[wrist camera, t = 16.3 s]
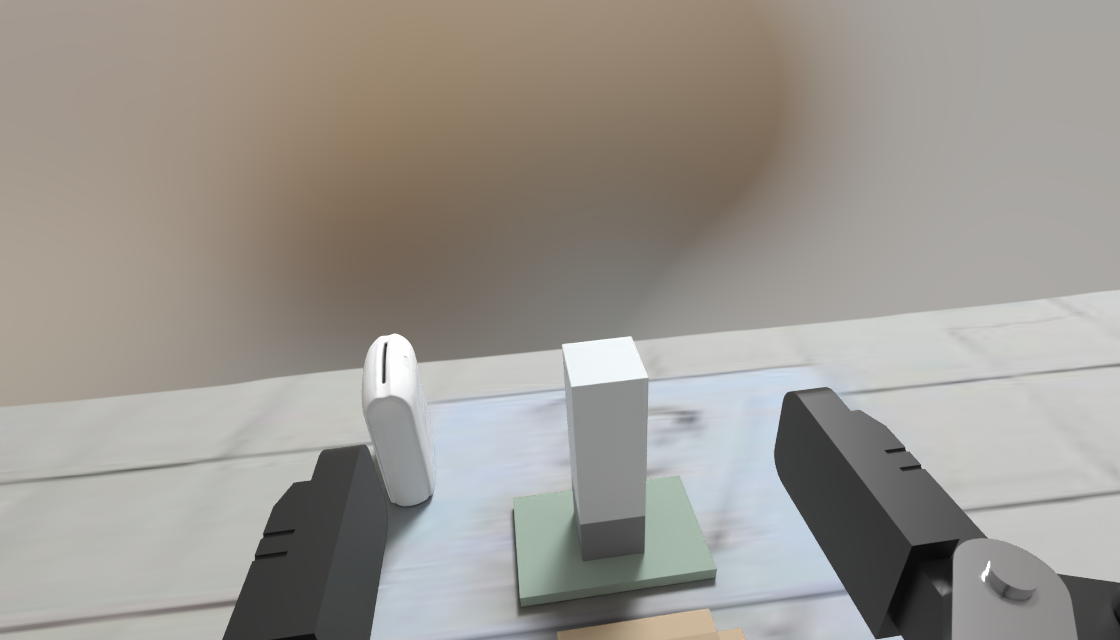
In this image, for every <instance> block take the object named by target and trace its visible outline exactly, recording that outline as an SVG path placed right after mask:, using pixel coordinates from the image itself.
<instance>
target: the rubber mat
mask: <svg viewBox="0 0 1120 640" xmlns="http://www.w3.org/2000/svg"><path fill="white" fill-rule="evenodd" d="M513 503H514V518H515V533H516V548H517V563H518V578H519V593H520V602H521V607H524V606H531V605H538V604H544V603H551V602H558V601H564V600H571V599H577V598H584V597H591V596H597V595H604V594H611V593H617V592H624V591H631V590H637V589H644V588H651V587H657V586H664V585H671V584H677V583H684V582H690V581H697V580H704V579H710V578H716V570H717V568H716V566H715V563H714V561H713V558H712V556H711V553H710V551H709V549H708V546H707V544H706V541H705V539H704V536H703V534H702V531H701V529H700V526H699V524H698V521H697V519H696V516H695V514H694V511H693V509H692V506H691V504H690V501H689V499H688V496H687V494H686V491H685V489H684V486H683V484H682V481H681V479H680V476H672V477H664V478H657V479H650V480H646V512H645V553H640V554H633V555H626V556H619V557H612V558H604V559H597V560H590V561H582V555H581V549H580V543H579V538H578V532H577V526H576V520H575V514H574V504H573V490H569V491H562V492H555V493H547V494H540V495H533V496H525V497H518V498H513Z"/></svg>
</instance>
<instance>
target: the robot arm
mask: <svg viewBox="0 0 1120 640" xmlns="http://www.w3.org/2000/svg"><path fill="white" fill-rule="evenodd" d="M774 458H775V465H776V469H777V472H778V475H779V478H780V480H781V482H782V484H783V485H784V487H785V489H786V490H787V492H788V494H789V495H790V497H791V499H792V500H793V502H794V504H795V505H796V507H797V509H798V510H799V512H800V514H801V515H802V517H803V519H804V520H805V522H806V524H807V525H808V527H809V529H810V530H811V532H812V534H813V535H814V537H815V539H816V540H817V542H818V544H819V545H820V547H821V549H822V550H823V552H824V554H825V555H826V557H827V559H828V560H829V562H830V564H831V565H832V567H833V569H834V570H835V572H836V574H837V575H838V577H839V579H840V580H841V582H842V584H843V585H844V587H845V589H846V590H847V592H848V594H849V595H850V597H851V599H852V600H853V602H854V604H855V605H856V607H857V609H858V610H859V612H860V614H861V615H862V617H863V619H864V620H865V622H866V624H867V625H868V627H869V629H870V630H871V632H872V634H873V635H874V637H875V639H881V638H887V637H894V636H900V635H902V637H903V639H904V640H1120V583H1117V582H1110V581H1103V580H1096V579H1089V578H1082V577H1075V576H1068V575H1061V574H1056V573H1055V572H1054V570H1053V569H1051V568H1050V567H1049V566H1048V565H1047V564H1046V563H1044V562H1043V561H1042V560H1040V559H1039V558H1038V557H1036V556H1034V555H1033V554H1031V553H1029V552H1028V551H1026V550H1024V549H1022V548H1020V547H1017V546H1015V545H1012V544H1010V543H1007V542H1003V541H999V540H994V539H988V538H987V537H986V536H985V535H984V534H983V533H982V532H981V530H980V529H979V528H978V527H977V526H976V525H975V524H974V523H973V522H972V520H971V519H970V518H969V517H968V516H967V515H966V514H965V513H964V512H963V511H962V509H961V508H960V507H959V506H958V505H957V504H956V503H955V502H954V501H953V499H952V498H951V497H950V496H949V495H948V494H947V493H946V492H945V491H944V490H943V488H942V487H941V486H940V485H939V484H938V483H937V482H936V481H935V480H934V479H933V477H932V476H931V475H930V474H929V473H928V472H927V471H926V470H925V469H922V468H921V464H920V463H919V462H918V461H917V460H916V459H915V458H914V456H913V455H912V454H911V453H910V452H906V450H905V446H904V445H903V444H902V443H901V442H900V441H899V440H898V439H897V438H896V437H895V435H894V434H893V433H892V432H891V431H890V430H889V429H888V428H887V427H886V426H885V425H883V424H882V423H880V422H878V421H877V420H875V419H874V418H872V417H870V416H869V415H867V414H866V413H864V412H862V411H861V410H855V411H850V410H849V408H848V407H847V406H846V405H845V404H844V403H843V401H842V400H841V399H840V398H839V397H838V396H837V394H836V393H835V392H834V391H833V390H831V389H830V388H828V387H822V388H815V389H807V390H799V391H791V392H788V393H786V395H785V397H784V399H783V404H782V410H781V415H780V421H779V427H778V432H777V438H776V444H775V450H774ZM386 537H387V509H386V503H385V499H384V496H383V493H382V490H381V486H380V483H379V480H378V477H377V474H376V470H375V467H374V464H373V461H372V458H371V454H370V451H369V449H368V447H367V446H366V445H358V446H350V447H342V448H334V449H327V450H323V451H322V452H321V453H320V455H319V458H318V461H317V464H316V467H315V470H314V473H313V476H312V479H311V481H303V482H296V483H293V484H292V486H291V487H290V488H289V489H288V490H287V491H286V493H285V494H284V495H283V496H282V497H281V499H280V500H279V501H278V502H277V503H276V504H275V506H274V507H273V509H272V512H271V514H270V517H269V519H268V522H267V525H266V527H265V530H264V532H263V539H261V540H260V543H259V545H258V548H257V551H256V553H255V561H252V564H251V566H250V569H249V572H248V574H247V577H246V579H245V582H244V585H243V587H242V590H241V592H240V595H239V598H238V600H237V603H236V605H235V608H234V611H233V613H232V616H231V618H230V621H229V624H228V626H227V629H226V631H225V634H224V637H223V639H222V640H370V636H371V630H372V624H373V617H374V611H375V605H376V599H377V593H378V586H379V580H380V574H381V568H382V562H383V556H384V549H385V543H386Z"/></svg>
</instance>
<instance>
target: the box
mask: <svg viewBox="0 0 1120 640" xmlns="http://www.w3.org/2000/svg"><path fill="white" fill-rule="evenodd" d="M562 350H563V364H564V378H565V392H566V406H567V420H568V434H569V448H570V462H571V476H572V490H573V504H574V514H575V520H576V526H577V532H578V538H579V543H580V549H581V555H582V561H590V560H597V559H604V558H612V557H619V556H626V555H633V554H640V553H645V512H646V465H647V418H648V376H647V373H646V371H645V368H644V366H643V364H642V361H641V359H640V356H639V354H638V351H637V349H636V347H635V344H634V342H633V340H632V337H631V336H630V337H622V338H613V339H604V340H596V341H587V342H578V343H570V344H563V345H562Z"/></svg>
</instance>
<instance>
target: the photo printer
mask: <svg viewBox="0 0 1120 640" xmlns="http://www.w3.org/2000/svg"><path fill="white" fill-rule="evenodd" d="M362 408H363V413H364V417H365V421H366V424H367V427H368V431H369V434H370V437H371V441H372V444H373V447H374V451H375V454H376V457H377V461H378V464H379V467H380V471H381V474H382V477H383V480H384V483H385V487H386V490H387V493H388V496H389V498H390V500H391V502H392V503H397V504H398V505H400V506H413V505H416V504H419V503H421V502H423V501H425V500H426V499H428V497H429V496H430V495H432V494H433V491H434V485H435V460H434V442H433V431H432V426H431V421H430V417H429V413H428V409H427V405H426V400H425V396H424V392H423V387H422V383H421V379H420V374H419V370H418V366H417V360H416V357H415V353H414V350H413V348H412V346H411V344H410V343H409V342H408V341H407V340H406V339H405V338H404V337H402V336H400V335H398V334H392V335H390V336H381V337H379V338H378V339H377V340H376V341H375V342H374V343H373V344H372V345H371V347H370V349H369V351H368V353H367V356H366V360H365V364H364V370H363V379H362Z"/></svg>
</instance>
